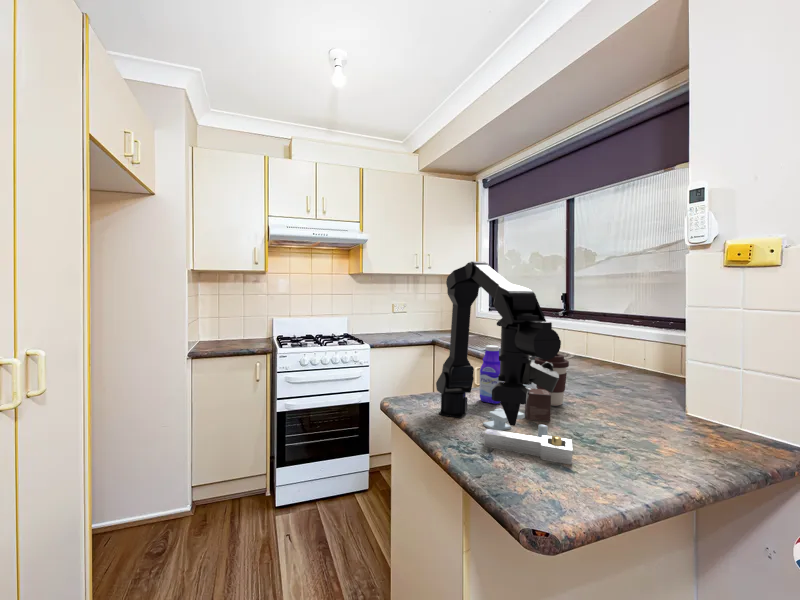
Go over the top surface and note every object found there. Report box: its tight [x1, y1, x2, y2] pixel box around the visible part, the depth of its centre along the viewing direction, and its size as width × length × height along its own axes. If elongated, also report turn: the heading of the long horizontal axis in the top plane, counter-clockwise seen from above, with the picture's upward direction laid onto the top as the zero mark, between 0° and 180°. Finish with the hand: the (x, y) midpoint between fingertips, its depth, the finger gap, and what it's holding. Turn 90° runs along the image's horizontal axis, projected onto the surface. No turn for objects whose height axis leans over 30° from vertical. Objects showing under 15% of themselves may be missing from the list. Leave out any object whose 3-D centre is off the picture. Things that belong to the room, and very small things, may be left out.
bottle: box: [479, 344, 503, 405], centre depth 119 cm, size 7×6×17 cm
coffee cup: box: [533, 353, 570, 407], centre depth 119 cm, size 10×10×15 cm
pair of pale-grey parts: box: [482, 407, 548, 437], centre depth 95 cm, size 16×10×5 cm, turn 68°
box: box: [524, 387, 552, 422], centre depth 106 cm, size 6×6×7 cm
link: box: [483, 428, 573, 466], centre depth 84 cm, size 18×6×3 cm, turn 68°
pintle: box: [551, 435, 563, 446], centre depth 82 cm, size 2×2×4 cm
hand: (512, 425), depth 80 cm, fingers closed
